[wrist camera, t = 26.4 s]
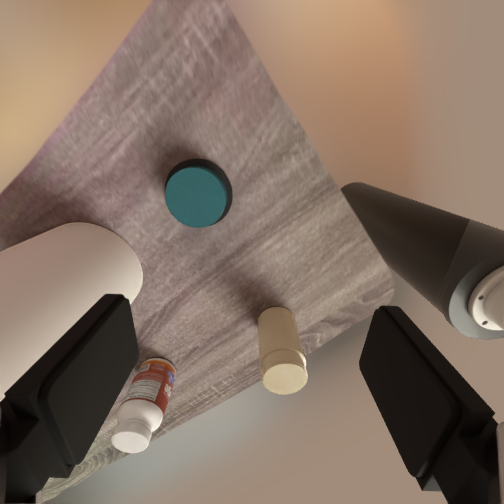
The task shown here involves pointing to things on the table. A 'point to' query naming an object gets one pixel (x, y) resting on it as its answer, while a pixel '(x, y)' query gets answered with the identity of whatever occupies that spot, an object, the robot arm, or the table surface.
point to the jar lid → (196, 196)
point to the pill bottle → (144, 405)
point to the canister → (57, 289)
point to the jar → (280, 352)
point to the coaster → (213, 167)
